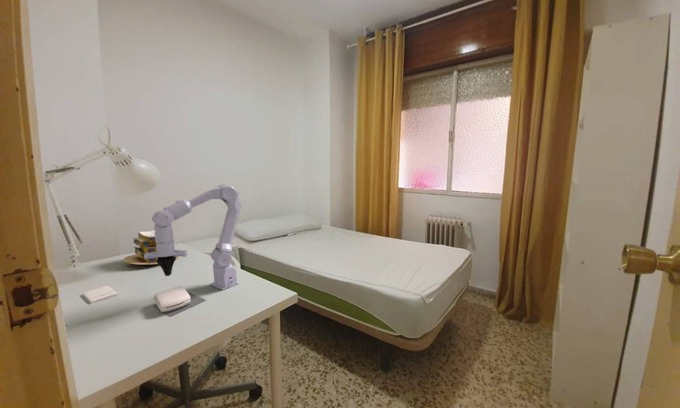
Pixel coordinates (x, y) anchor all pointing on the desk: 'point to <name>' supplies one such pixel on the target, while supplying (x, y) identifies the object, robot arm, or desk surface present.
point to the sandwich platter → (143, 249)
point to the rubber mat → (194, 301)
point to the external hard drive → (99, 294)
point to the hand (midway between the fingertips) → (168, 274)
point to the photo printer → (172, 299)
